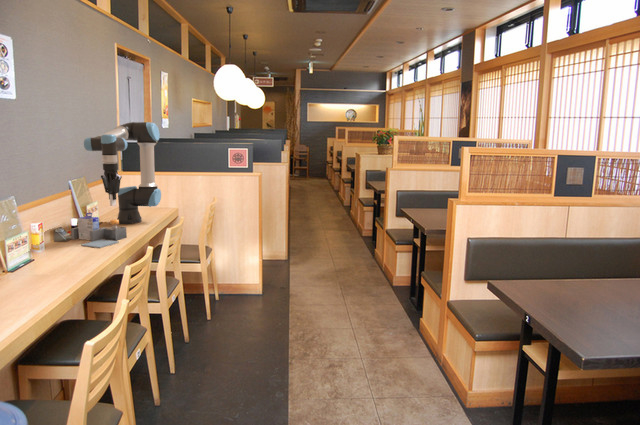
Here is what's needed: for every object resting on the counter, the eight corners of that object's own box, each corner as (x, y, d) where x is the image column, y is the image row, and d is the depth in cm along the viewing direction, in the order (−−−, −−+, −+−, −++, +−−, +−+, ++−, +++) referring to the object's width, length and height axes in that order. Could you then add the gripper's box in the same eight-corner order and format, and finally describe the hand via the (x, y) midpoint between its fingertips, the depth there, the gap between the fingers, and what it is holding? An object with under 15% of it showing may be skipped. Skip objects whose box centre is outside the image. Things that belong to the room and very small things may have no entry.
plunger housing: (115, 236, 269) (115, 226, 268) (126, 237, 266) (126, 227, 265) (104, 239, 262) (104, 228, 261) (115, 240, 259) (115, 230, 258)
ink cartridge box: (100, 238, 265) (98, 212, 262) (94, 240, 260) (92, 214, 257) (85, 237, 267) (83, 212, 264) (78, 239, 261) (76, 213, 259)
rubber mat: (100, 240, 260) (100, 239, 260) (118, 242, 255) (118, 241, 255) (81, 245, 248) (81, 244, 248) (99, 248, 243) (99, 247, 243)
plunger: (115, 230, 266) (114, 219, 265) (121, 231, 264) (120, 219, 263) (109, 232, 262) (108, 220, 261) (115, 232, 260) (114, 221, 259)
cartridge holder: (86, 235, 271) (85, 225, 270) (107, 238, 265) (106, 227, 264) (71, 239, 261) (70, 228, 260) (93, 242, 256) (92, 231, 255)
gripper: (95, 163, 255) (98, 205, 259) (114, 163, 250) (117, 207, 255) (106, 162, 262) (109, 203, 266) (124, 162, 257) (127, 205, 261)
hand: (113, 205), depth 260 cm, fingers closed
